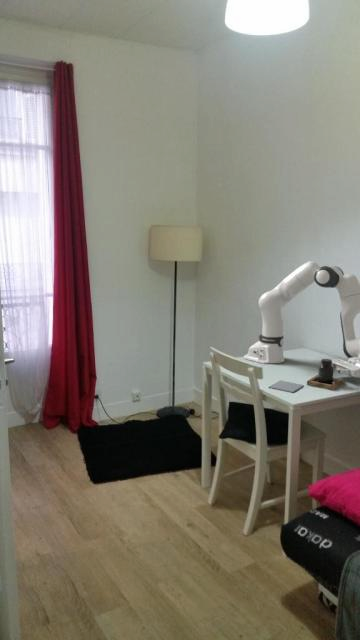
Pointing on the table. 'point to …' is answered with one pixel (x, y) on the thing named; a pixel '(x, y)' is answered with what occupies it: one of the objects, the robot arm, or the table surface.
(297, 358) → the table surface
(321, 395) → the table surface
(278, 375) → the table surface
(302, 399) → the table surface
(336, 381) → the frame
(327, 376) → the supplement bottle
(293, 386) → the grey mat
